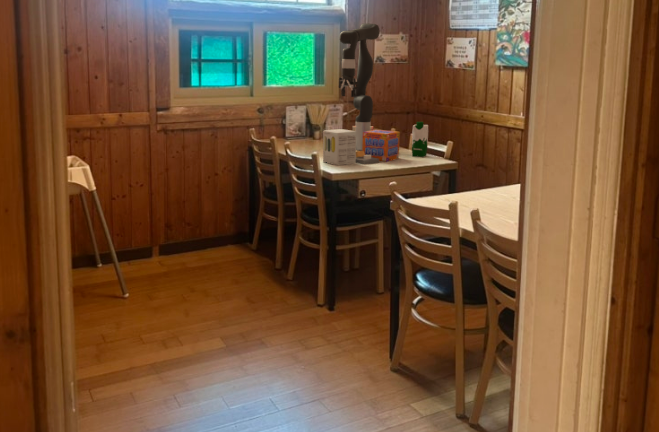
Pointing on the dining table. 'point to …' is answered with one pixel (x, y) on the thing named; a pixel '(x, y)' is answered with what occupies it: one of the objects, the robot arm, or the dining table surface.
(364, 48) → the robot arm
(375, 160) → the breaker panel
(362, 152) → the breaker paddle
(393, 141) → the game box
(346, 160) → the supplement box
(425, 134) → the milk carton
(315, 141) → the dining table surface
